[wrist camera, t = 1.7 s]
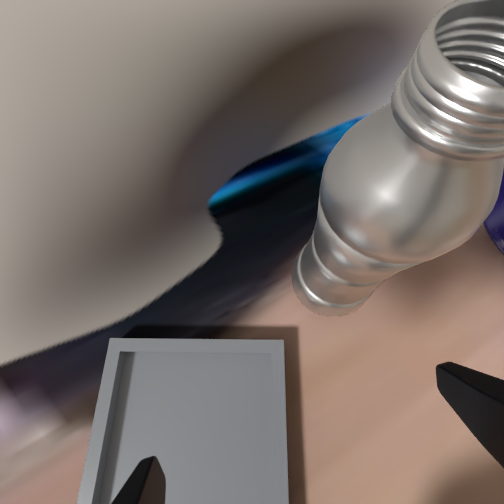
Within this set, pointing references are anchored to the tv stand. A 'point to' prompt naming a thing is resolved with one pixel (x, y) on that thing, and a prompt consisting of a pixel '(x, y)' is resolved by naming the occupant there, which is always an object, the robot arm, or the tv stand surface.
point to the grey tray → (191, 420)
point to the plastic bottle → (412, 165)
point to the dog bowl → (497, 220)
